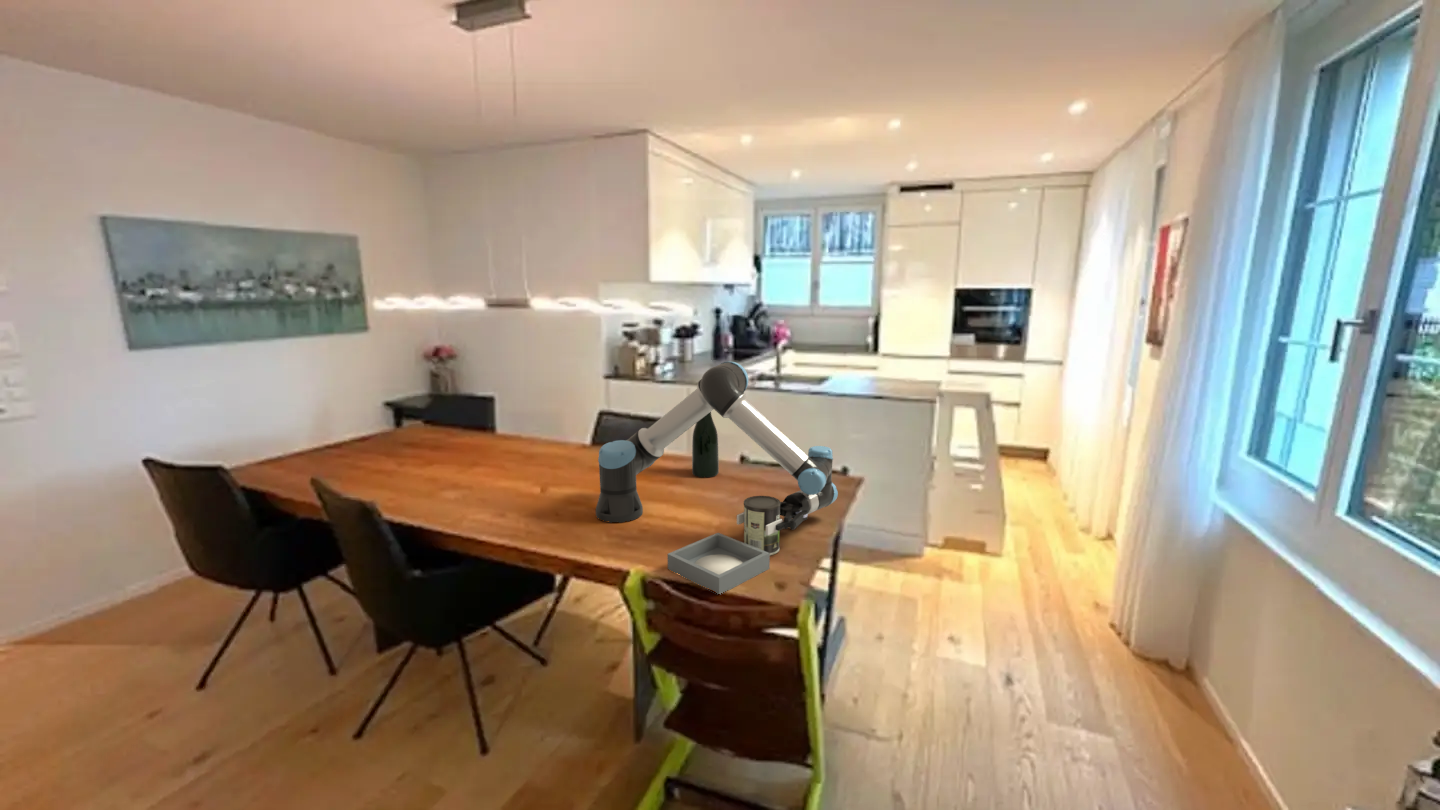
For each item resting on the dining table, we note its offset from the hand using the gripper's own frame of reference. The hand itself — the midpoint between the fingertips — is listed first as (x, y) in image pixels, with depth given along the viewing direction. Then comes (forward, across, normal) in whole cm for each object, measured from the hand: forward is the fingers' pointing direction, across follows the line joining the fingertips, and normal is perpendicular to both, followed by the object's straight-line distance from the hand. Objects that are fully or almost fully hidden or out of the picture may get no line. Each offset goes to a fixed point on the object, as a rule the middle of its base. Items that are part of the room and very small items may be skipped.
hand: (751, 525), depth 167 cm
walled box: (+13, 0, -8) cm, 16 cm away
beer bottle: (-41, +60, -9) cm, 73 cm away
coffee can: (-4, 0, -9) cm, 10 cm away
